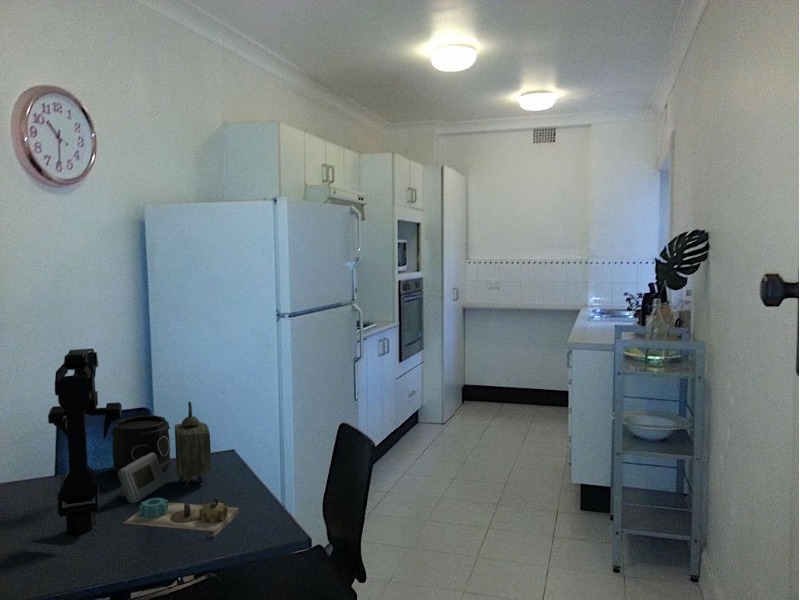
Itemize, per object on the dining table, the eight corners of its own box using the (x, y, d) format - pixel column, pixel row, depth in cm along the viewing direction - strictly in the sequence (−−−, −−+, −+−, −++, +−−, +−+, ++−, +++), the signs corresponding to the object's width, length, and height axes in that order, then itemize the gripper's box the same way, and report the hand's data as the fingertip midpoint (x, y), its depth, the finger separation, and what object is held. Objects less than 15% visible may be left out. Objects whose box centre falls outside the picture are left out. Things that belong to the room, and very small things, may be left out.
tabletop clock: (176, 477, 198) (173, 397, 195) (206, 473, 201) (204, 395, 199) (179, 494, 184) (176, 409, 182) (212, 489, 188) (209, 405, 186)
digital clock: (132, 509, 174) (130, 471, 173) (108, 504, 177) (106, 467, 176) (175, 488, 189) (174, 453, 188) (152, 484, 192) (150, 449, 191)
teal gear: (158, 519, 164) (158, 508, 163) (134, 517, 165) (134, 506, 165) (173, 508, 170) (172, 497, 170) (149, 506, 172) (149, 496, 171)
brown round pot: (185, 465, 208) (183, 418, 207) (137, 483, 193) (135, 432, 191) (148, 456, 217) (146, 411, 216) (100, 473, 202) (98, 424, 200)
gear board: (213, 536, 157) (213, 513, 157) (122, 528, 162) (121, 505, 161) (238, 513, 171) (238, 491, 170) (154, 506, 176) (153, 485, 175)
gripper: (121, 377, 193) (124, 423, 198) (53, 380, 187) (57, 428, 192) (118, 392, 183) (121, 441, 188) (45, 397, 177) (50, 447, 182)
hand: (87, 438), depth 188 cm, fingers open, 9 cm apart
